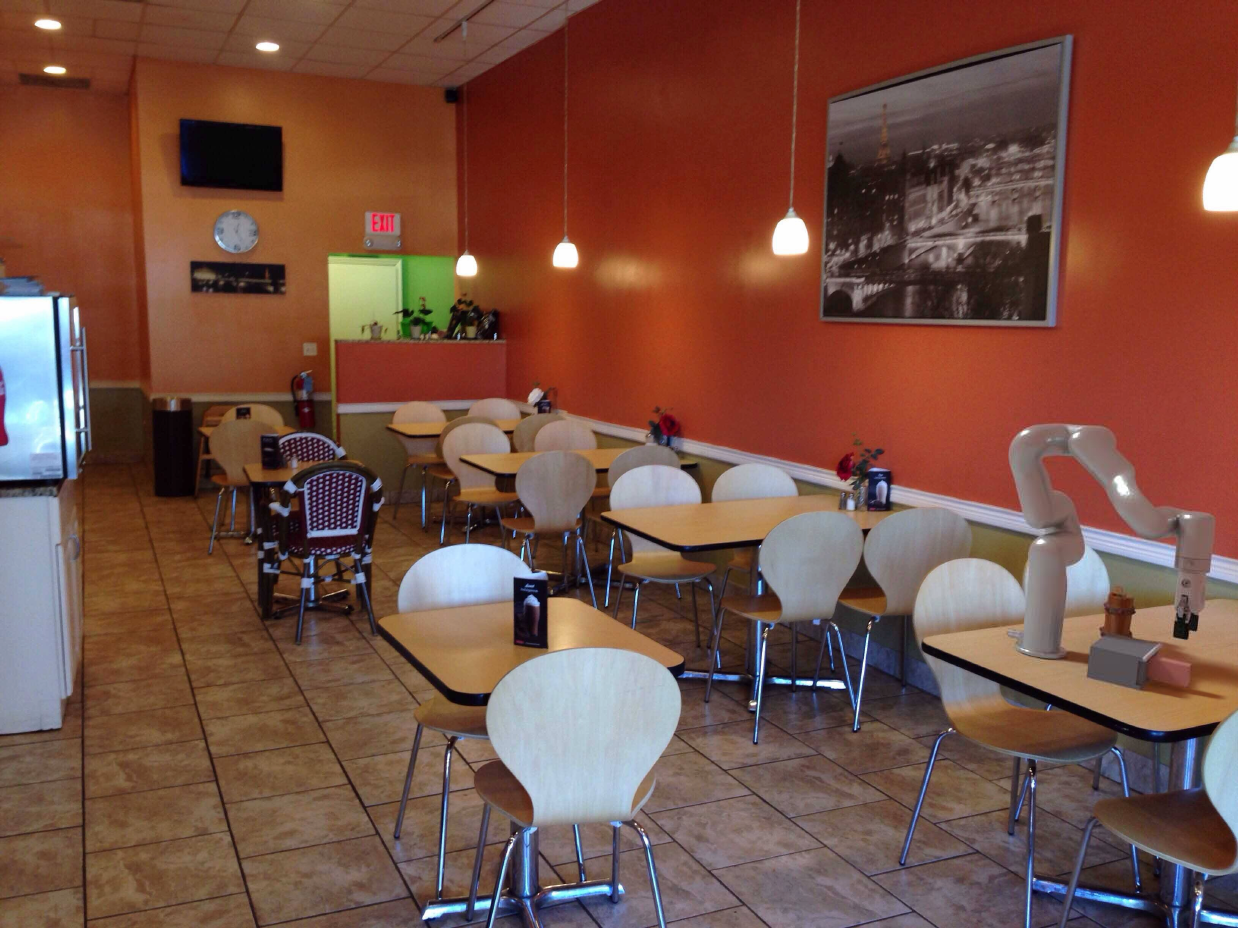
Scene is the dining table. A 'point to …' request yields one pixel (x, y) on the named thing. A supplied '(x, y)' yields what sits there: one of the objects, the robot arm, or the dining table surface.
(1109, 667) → the dispenser
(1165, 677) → the long pink plank
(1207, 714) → the dining table surface
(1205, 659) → the dining table surface
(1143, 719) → the dining table surface
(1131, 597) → the brown wooden cylinder bundle
